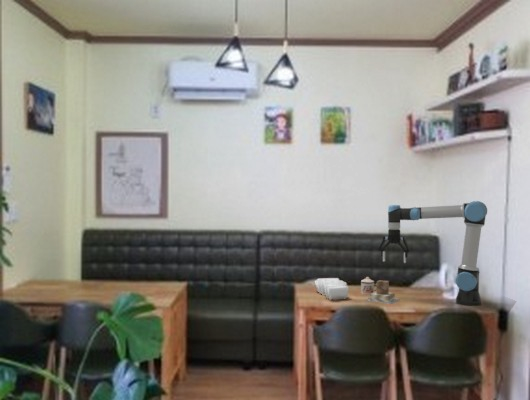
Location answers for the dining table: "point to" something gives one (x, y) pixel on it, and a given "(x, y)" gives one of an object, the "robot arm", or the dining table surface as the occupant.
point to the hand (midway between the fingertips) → (394, 262)
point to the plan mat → (384, 302)
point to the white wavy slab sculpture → (332, 288)
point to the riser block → (382, 297)
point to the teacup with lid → (367, 286)
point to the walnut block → (382, 287)
